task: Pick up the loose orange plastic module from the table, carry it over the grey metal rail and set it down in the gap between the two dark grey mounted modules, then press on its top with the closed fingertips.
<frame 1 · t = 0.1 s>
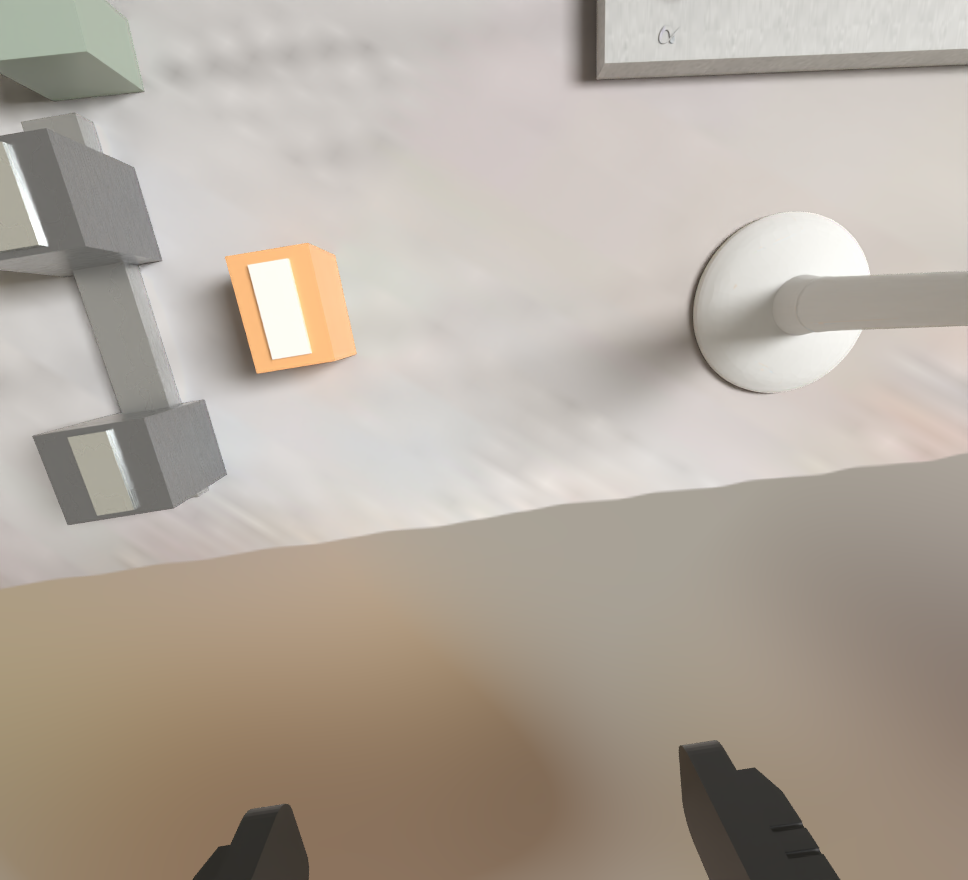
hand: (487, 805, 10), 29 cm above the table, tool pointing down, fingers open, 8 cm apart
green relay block: (90, 61, 31), on the table
candlestick: (776, 306, 36), on the table
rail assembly: (132, 326, 35), on the table
orange module: (312, 311, 36), on the table
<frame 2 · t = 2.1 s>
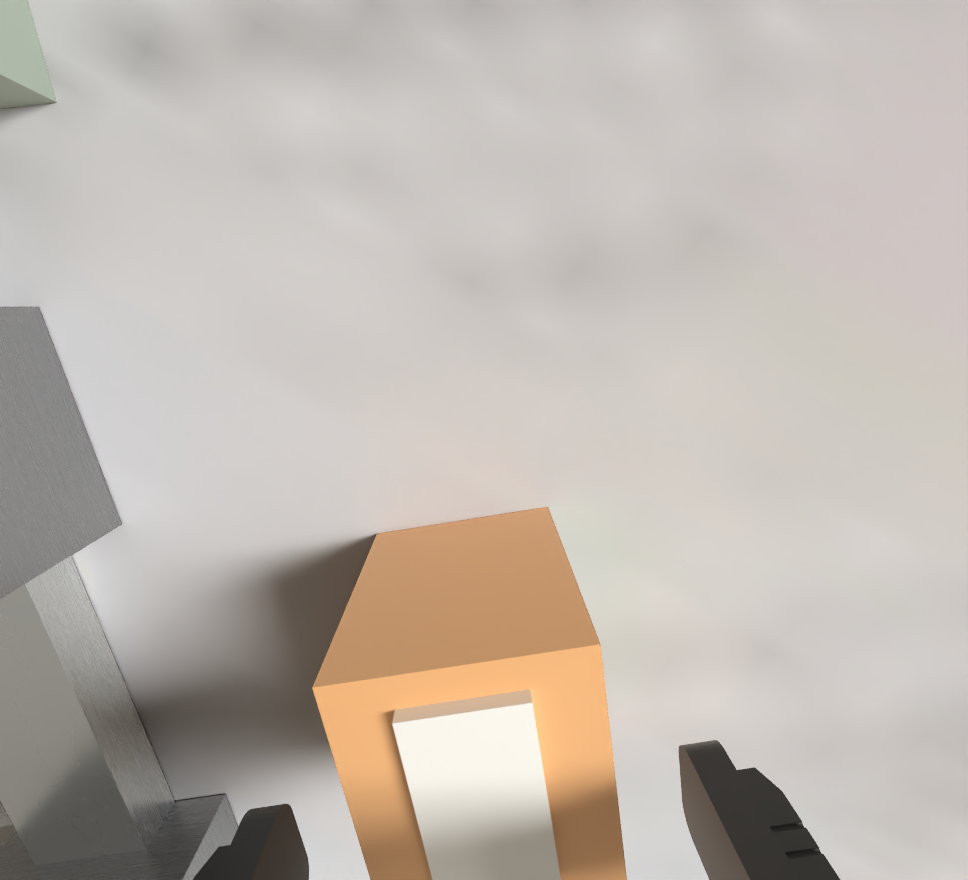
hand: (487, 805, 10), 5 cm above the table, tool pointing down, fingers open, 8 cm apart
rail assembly: (55, 660, 15), on the table
orange module: (481, 622, 15), on the table
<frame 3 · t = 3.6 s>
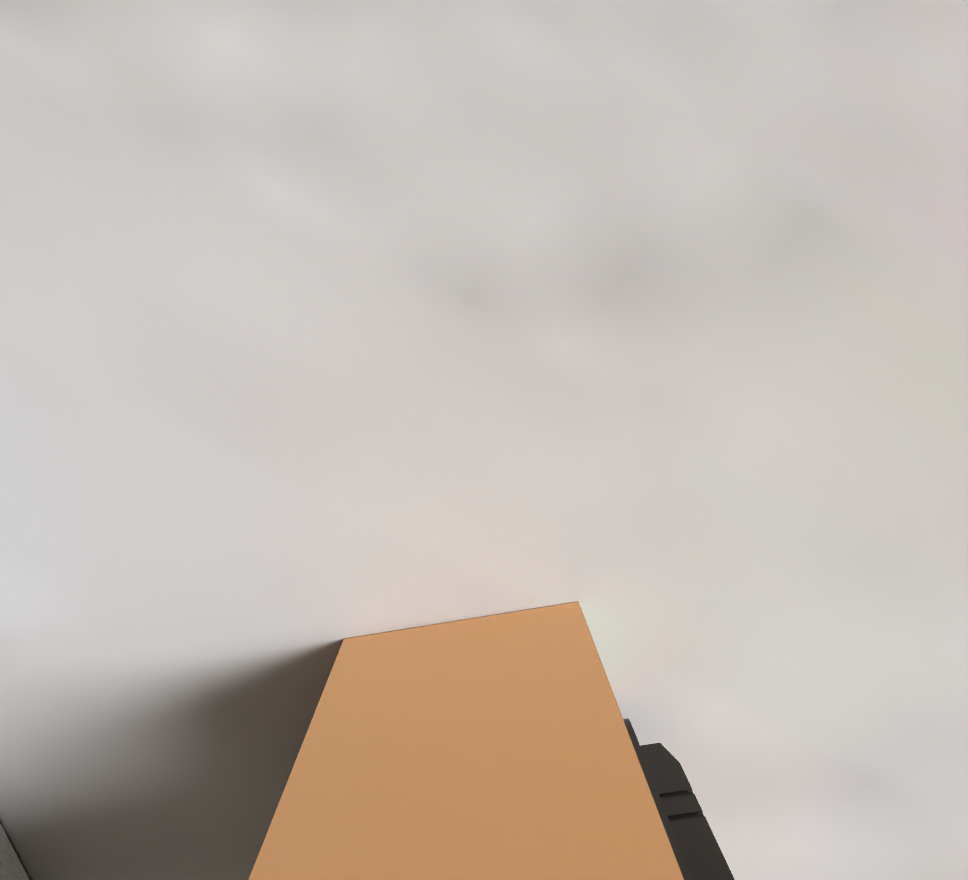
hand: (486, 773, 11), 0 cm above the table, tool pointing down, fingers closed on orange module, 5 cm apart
orange module: (487, 753, 11), on the table, touching gripper
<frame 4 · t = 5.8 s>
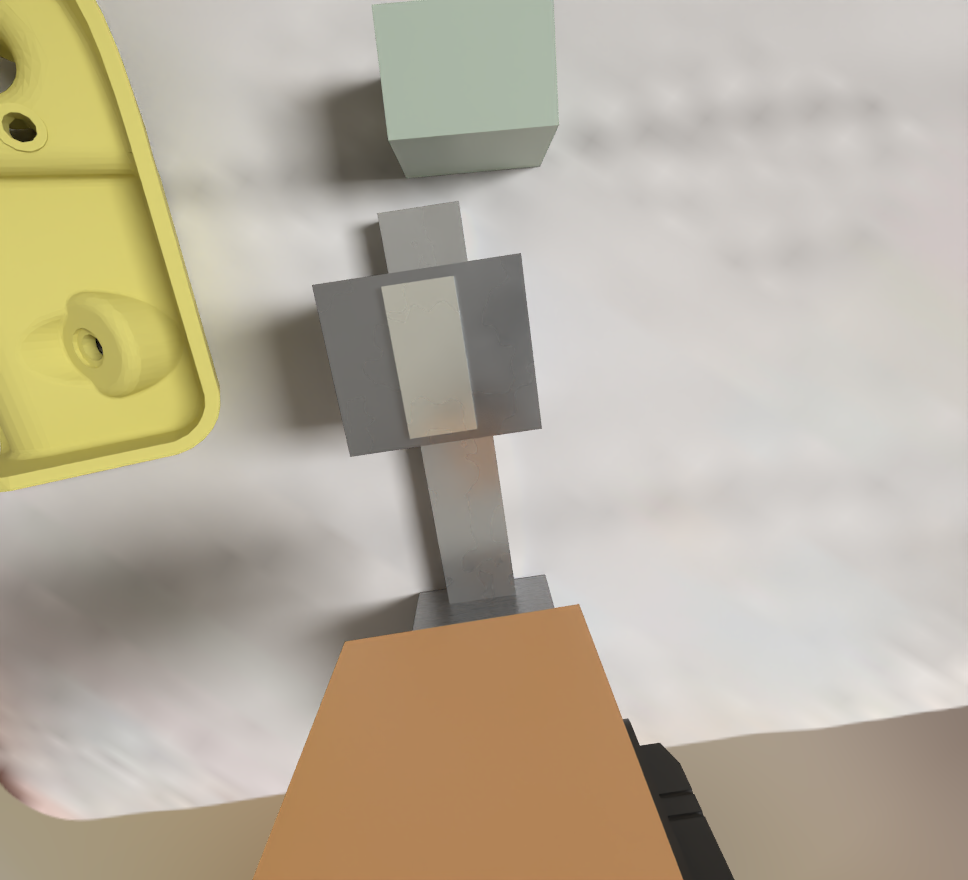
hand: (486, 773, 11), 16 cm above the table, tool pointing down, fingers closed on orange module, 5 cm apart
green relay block: (469, 122, 21), on the table
plastic component: (92, 242, 23), on the table
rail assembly: (465, 482, 25), on the table
orange module: (488, 755, 11), point 15 cm above the table, touching gripper
when the fingers open (3 cm above the table, at t = 8.1 s): orange module drops 1 cm, resting on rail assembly.
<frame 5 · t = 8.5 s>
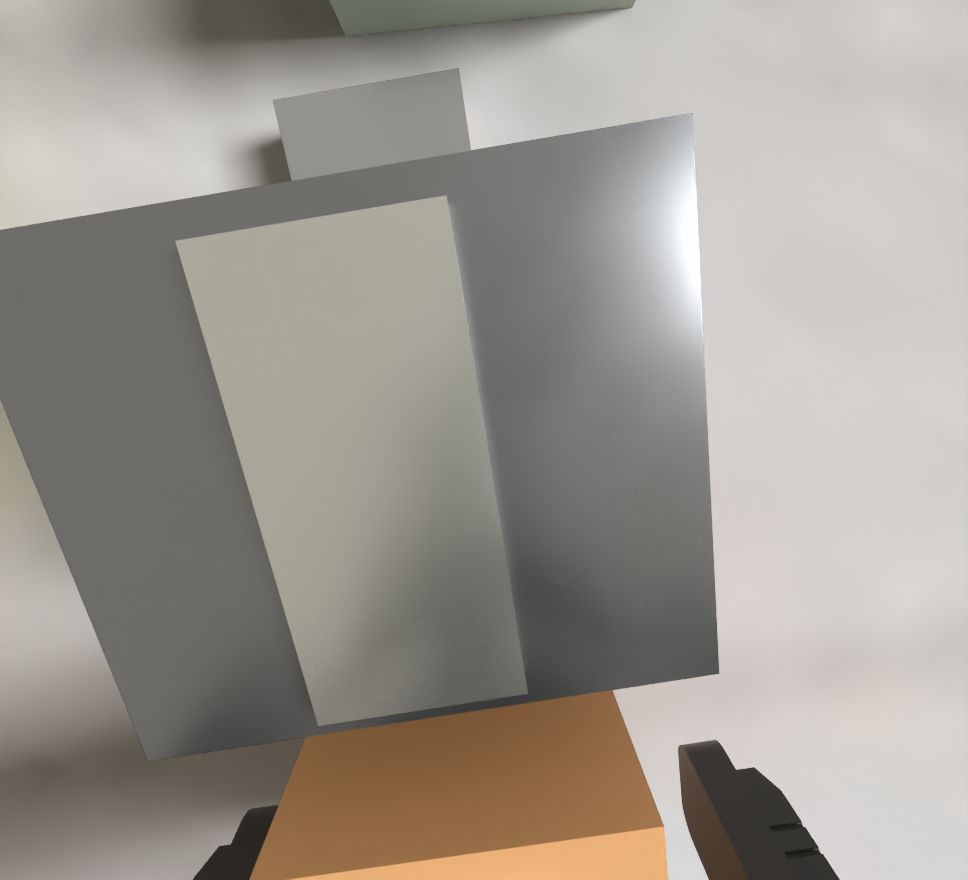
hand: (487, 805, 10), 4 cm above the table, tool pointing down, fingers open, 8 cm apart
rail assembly: (477, 635, 14), on the table
orange module: (484, 707, 12), point 1 cm above the table, touching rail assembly
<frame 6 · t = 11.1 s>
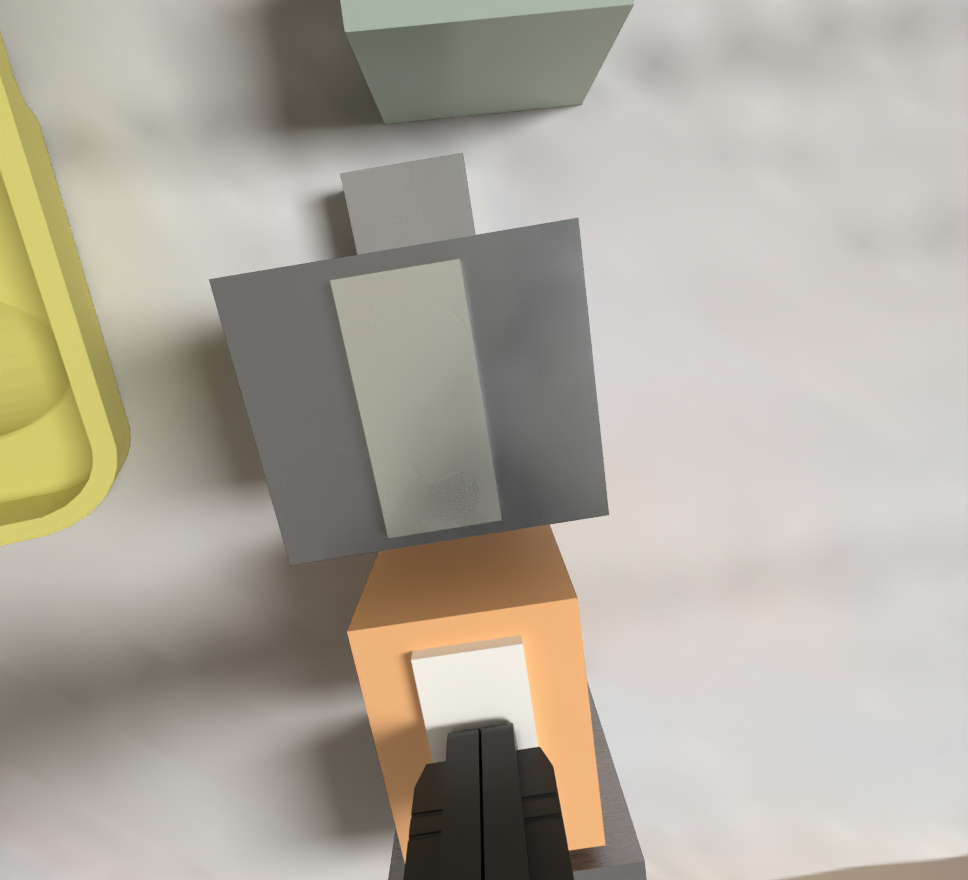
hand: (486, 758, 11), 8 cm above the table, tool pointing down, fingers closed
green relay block: (476, 39, 14), on the table
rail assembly: (475, 554, 18), on the table
orange module: (480, 600, 17), point 1 cm above the table, touching gripper, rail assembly
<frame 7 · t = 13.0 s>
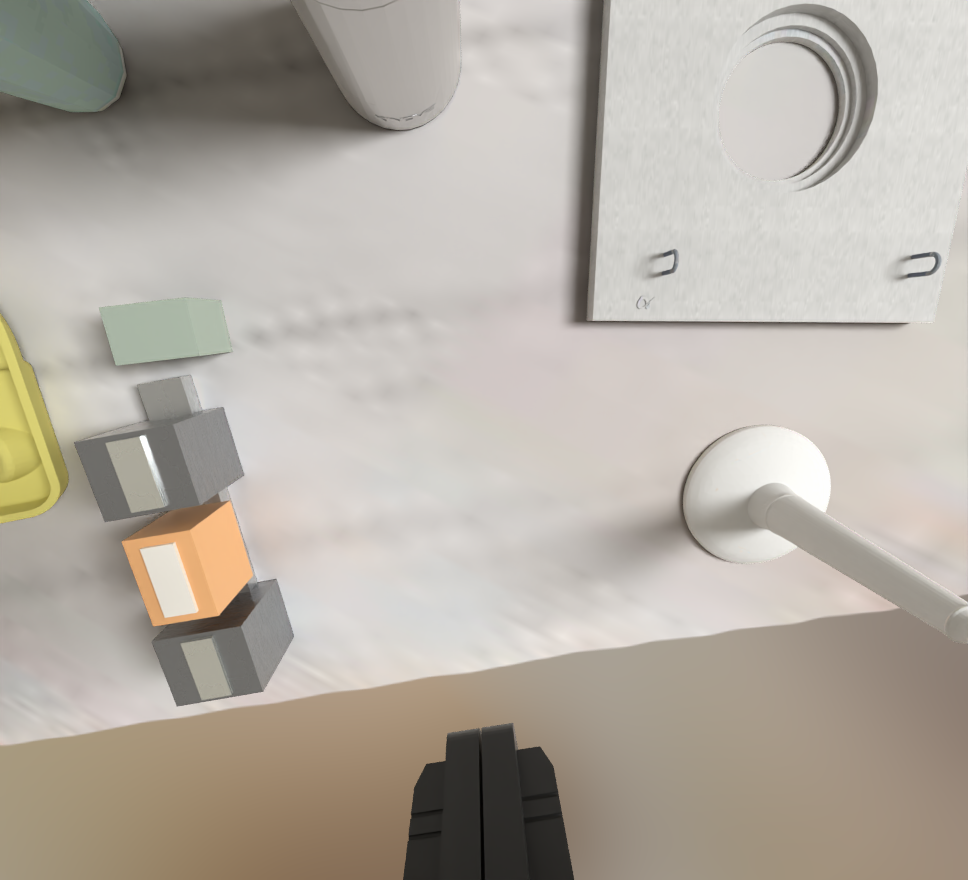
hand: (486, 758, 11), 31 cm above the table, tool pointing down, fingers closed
mounting panel: (770, 118, 37), on the table
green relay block: (190, 330, 39), on the table
disposable coffee cup: (84, 70, 35), on the table
candlestick: (752, 494, 44), on the table
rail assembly: (218, 525, 43), on the table
orange module: (213, 543, 41), point 1 cm above the table, touching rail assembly
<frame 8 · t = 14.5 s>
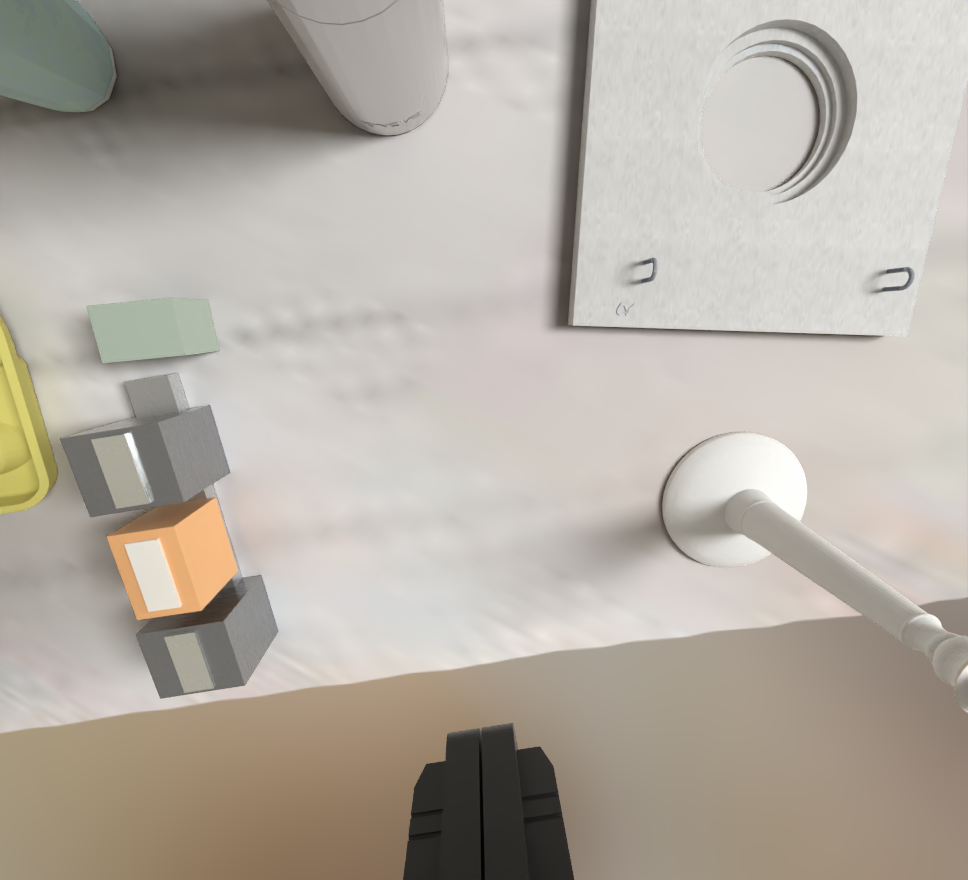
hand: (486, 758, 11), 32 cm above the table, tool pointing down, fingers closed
mounting panel: (753, 130, 38), on the table
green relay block: (177, 329, 39), on the table
disposable coffee cup: (74, 70, 35), on the table
candlestick: (731, 499, 44), on the table
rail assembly: (204, 521, 43), on the table
orange module: (198, 539, 42), point 1 cm above the table, touching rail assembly
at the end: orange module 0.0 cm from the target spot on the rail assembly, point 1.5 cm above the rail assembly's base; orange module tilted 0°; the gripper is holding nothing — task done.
